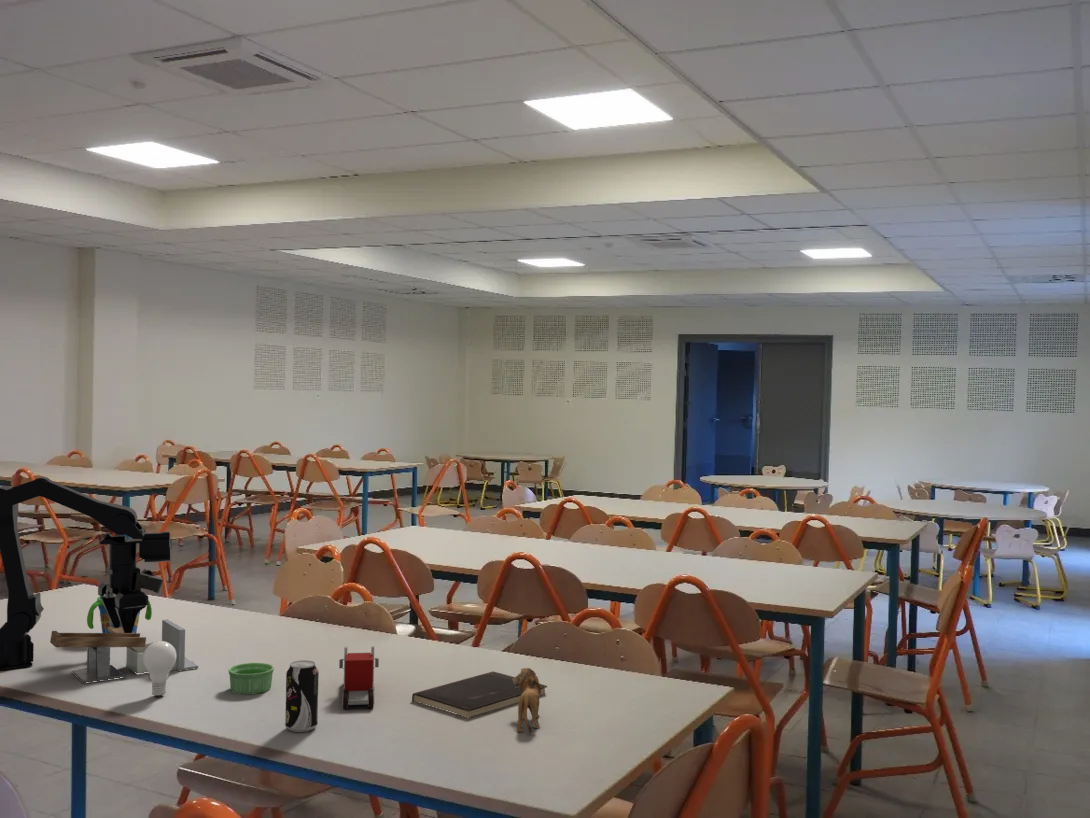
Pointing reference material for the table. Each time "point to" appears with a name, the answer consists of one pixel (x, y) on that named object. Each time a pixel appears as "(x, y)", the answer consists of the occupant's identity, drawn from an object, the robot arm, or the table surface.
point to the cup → (137, 659)
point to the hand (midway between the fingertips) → (122, 631)
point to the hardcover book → (473, 694)
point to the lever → (98, 639)
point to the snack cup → (106, 620)
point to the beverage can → (301, 696)
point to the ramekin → (250, 678)
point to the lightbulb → (159, 664)
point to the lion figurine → (528, 697)
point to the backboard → (177, 643)
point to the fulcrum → (98, 666)
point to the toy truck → (358, 678)
